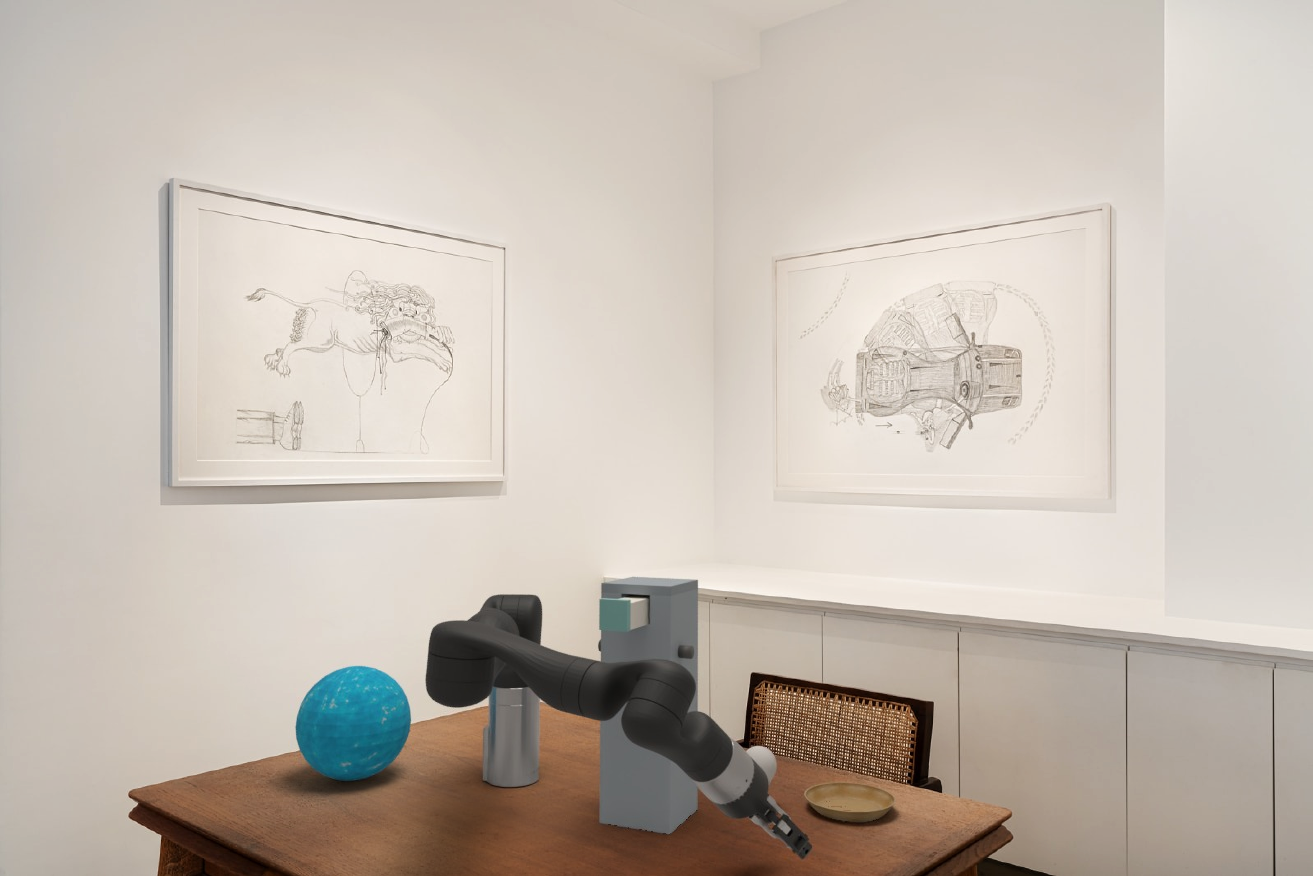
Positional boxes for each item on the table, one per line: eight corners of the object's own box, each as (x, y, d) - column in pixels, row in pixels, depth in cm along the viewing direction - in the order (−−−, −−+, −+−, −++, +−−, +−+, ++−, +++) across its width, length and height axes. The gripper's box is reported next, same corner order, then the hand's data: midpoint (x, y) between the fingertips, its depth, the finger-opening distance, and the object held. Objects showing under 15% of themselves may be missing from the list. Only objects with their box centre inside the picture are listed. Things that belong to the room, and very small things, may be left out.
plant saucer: (840, 834, 142) (839, 816, 142) (786, 804, 155) (786, 788, 156) (915, 820, 148) (915, 803, 148) (858, 792, 162) (857, 777, 162)
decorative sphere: (360, 802, 154) (363, 681, 155) (268, 787, 162) (271, 672, 163) (432, 769, 173) (434, 661, 174) (346, 757, 180) (348, 654, 181)
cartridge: (599, 629, 138) (599, 599, 139) (649, 614, 156) (650, 587, 156) (627, 631, 137) (627, 600, 137) (675, 616, 154) (675, 588, 154)
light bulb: (780, 804, 155) (779, 743, 155) (772, 816, 149) (772, 753, 150) (745, 800, 157) (745, 740, 157) (737, 811, 151) (737, 749, 152)
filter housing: (588, 821, 146) (590, 582, 148) (620, 798, 157) (622, 576, 159) (681, 836, 140) (682, 587, 142) (708, 811, 151) (709, 580, 153)
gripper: (780, 778, 113) (838, 841, 121) (714, 727, 125) (770, 787, 133) (741, 828, 112) (803, 888, 119) (677, 771, 123) (737, 829, 131)
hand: (786, 835), depth 126 cm, fingers open, 8 cm apart
